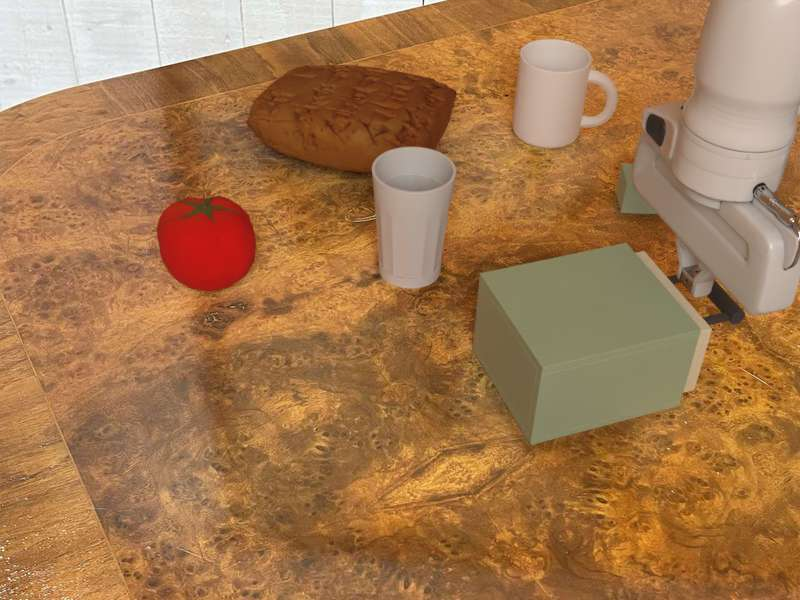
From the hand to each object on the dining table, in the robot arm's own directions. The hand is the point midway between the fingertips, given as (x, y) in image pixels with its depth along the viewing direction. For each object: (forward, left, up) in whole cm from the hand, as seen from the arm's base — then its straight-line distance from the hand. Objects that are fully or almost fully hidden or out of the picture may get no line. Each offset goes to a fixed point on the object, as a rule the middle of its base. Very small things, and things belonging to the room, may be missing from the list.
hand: (692, 287), depth 95 cm
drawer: (+5, +2, -7) cm, 9 cm away
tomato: (+45, -9, -8) cm, 47 cm away
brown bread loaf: (+32, -33, -8) cm, 47 cm away
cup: (+25, -11, -8) cm, 28 cm away
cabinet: (+10, +4, -8) cm, 13 cm away
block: (0, -24, -8) cm, 25 cm away
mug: (+7, -38, -8) cm, 40 cm away
